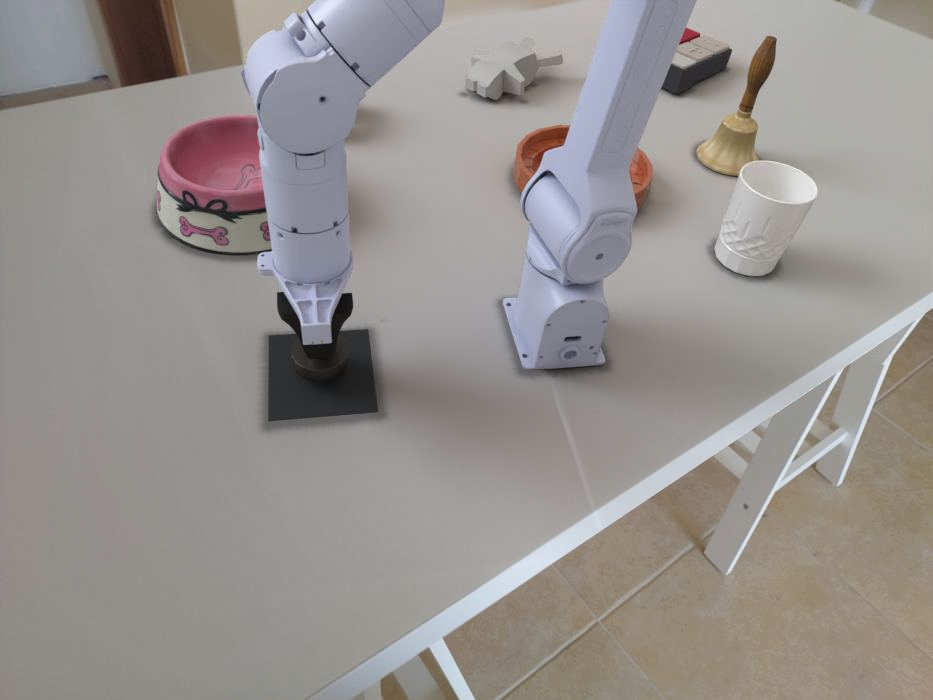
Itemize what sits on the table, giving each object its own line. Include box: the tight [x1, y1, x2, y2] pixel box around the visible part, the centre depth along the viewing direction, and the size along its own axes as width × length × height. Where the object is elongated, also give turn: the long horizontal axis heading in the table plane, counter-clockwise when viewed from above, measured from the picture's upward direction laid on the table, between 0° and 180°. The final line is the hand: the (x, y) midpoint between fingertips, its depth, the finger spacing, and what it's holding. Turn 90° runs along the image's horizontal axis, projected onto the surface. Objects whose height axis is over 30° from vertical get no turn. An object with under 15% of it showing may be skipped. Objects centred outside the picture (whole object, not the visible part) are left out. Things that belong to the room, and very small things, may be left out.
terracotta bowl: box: [512, 124, 654, 210], centre depth 88 cm, size 16×16×4 cm
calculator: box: [662, 27, 733, 95], centre depth 113 cm, size 11×4×15 cm
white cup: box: [713, 159, 819, 277], centre depth 79 cm, size 8×8×10 cm
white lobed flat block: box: [464, 36, 564, 101], centre depth 105 cm, size 10×5×15 cm
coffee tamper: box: [291, 335, 349, 382], centre depth 61 cm, size 5×5×7 cm
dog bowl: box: [156, 114, 272, 256], centre depth 79 cm, size 18×19×7 cm
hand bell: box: [695, 35, 778, 177], centre depth 91 cm, size 8×8×16 cm
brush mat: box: [267, 328, 379, 422], centre depth 65 cm, size 10×9×1 cm
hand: (319, 343), depth 62 cm, fingers closed on coffee tamper, 2 cm apart
